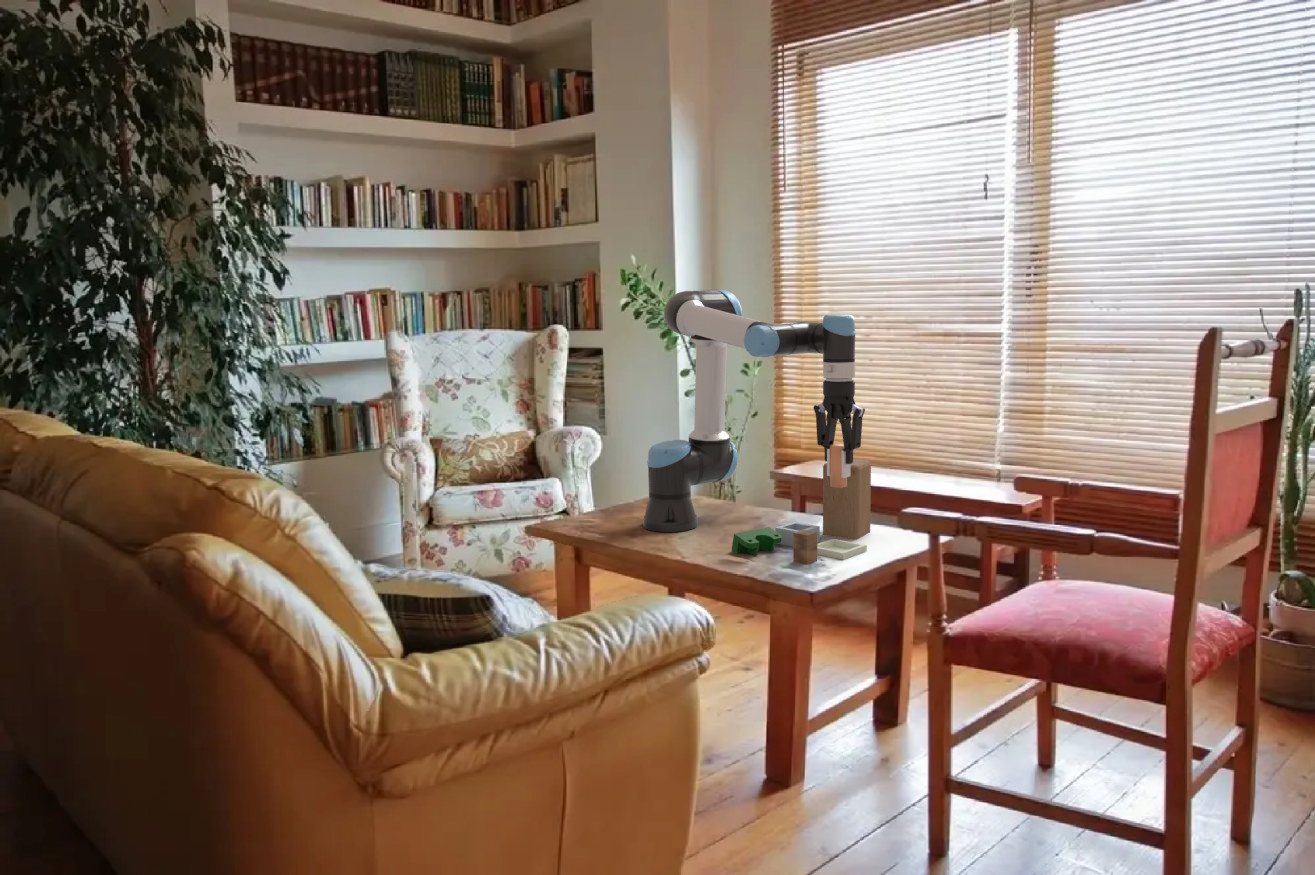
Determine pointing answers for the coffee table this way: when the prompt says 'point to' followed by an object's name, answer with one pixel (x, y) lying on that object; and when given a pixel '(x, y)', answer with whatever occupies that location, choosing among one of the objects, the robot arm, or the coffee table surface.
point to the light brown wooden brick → (805, 547)
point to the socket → (793, 527)
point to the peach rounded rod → (836, 466)
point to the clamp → (755, 540)
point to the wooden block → (848, 503)
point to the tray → (840, 548)
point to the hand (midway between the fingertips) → (838, 475)
